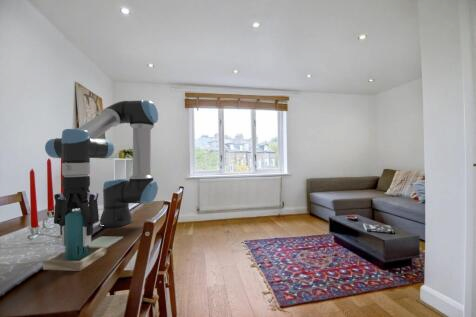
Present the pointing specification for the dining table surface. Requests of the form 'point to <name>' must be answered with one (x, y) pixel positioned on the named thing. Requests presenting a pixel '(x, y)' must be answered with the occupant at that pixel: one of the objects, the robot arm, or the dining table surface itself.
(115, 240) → the rubber mat
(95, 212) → the robot arm
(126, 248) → the dining table surface
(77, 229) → the beverage bottle
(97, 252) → the wooden collar
